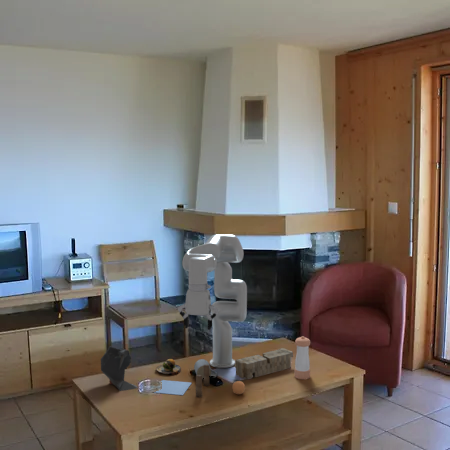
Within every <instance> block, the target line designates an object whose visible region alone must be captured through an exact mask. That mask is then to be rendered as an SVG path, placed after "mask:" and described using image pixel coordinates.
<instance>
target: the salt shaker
mask: <svg viewBox="0 0 450 450" xmlns="http://www.w3.org/2000/svg"><path fill="white" fill-rule="evenodd" d="M294 342H295V346H296V356H295V361H294V362H295V363H294V364H295V367H294V374H293V375H294V378H295V379H298V380H308V379H310V378H311V369H310V364H311V363H310V356H309V352H310V351H309V348H310V347H309V346H310V345H311V340H310V339H309V338H307V337H305V336H303V335H302V336H299V337H297V338H296V339H295V341H294Z"/></svg>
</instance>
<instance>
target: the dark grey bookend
mask: <svg viewBox="0 0 450 450" xmlns="http://www.w3.org/2000/svg"><path fill="white" fill-rule="evenodd" d="M131 357H132V356H131V354H130V351H129V350H128V349H121V348H116V347H112V346H108V348H107V350H106V351H105V353H104V354H103V356H101V358H100V371H101V372H102V373H103V374H104V375H105V377H107V379H109V381H108V382H109V385H114V386H115V387H116V389H118V391H119V392H124V391H129V390H134V389H138V386H137V385H135V384H132V383H130V382H128V381H126V380H125V372H126V371H125V370H126V369H127V368H128V367H129V366H130V364H131V363H132V360H131V359H132V358H131Z"/></svg>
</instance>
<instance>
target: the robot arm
mask: <svg viewBox="0 0 450 450" xmlns="http://www.w3.org/2000/svg"><path fill="white" fill-rule="evenodd" d="M244 254H245V253H244V248H243V245H242V244H241V241H240V239H239V238H238V237H237V236H236V235H234V234H222V233H221V234H219V233H218V234H213V235H210V237H209V238H208V239H207V241H206V242H204V244H200V245H197V246H195V247H191V248H189V249H188V250H187V251H186V252H185V254H184V256H183V259H182V263H181V264H182V268H183V269H184V271H186V272H188V289H187V291H186V296H185V303H183V304H182V305H180V306H178V307H177V310H178V311H177V312H178V313H179V315H180V316H181V317H182V319H183V326H184V328H185V329H188V328H189V326H190V322H189V321H190V318H189V316H190V315H191V316H202V317H203V316H205V317H206V318H207V319H208V320H207V331H208V330H209V331H210V330H211V329H212V358H211V359H210V360H209V365H210V367H212V368H213V367H214V368H218V369H226V368H232V367H233V366H235V360H236V359H233V328H232V326H231V323H230V322H238V323H239V322H240V323H242V322H244V321H245V320H246V319H247V315H248V314H247V311H248V309H247V308H248V306H247V305H248V286H247V283H246V282H245V280H242V279H236V278H235V279H233V268H232V266H231V265H230V263H233V264H234V263H235V264H237V263H241V262H242V261H243V259H244ZM212 272H214V287H213V289H214V291H213V292H214V296H215V297H216V298H219V299H229V301H228V300H217V301H214V302H213V303H212V299H211V293H210V290H209V289H211V287H212V286H211V284H208V273H212ZM231 299H232V300H236V301H230V300H231ZM183 309H184V311H183Z"/></svg>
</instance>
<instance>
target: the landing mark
mask: <svg viewBox="0 0 450 450" xmlns="http://www.w3.org/2000/svg"><path fill="white" fill-rule="evenodd" d="M160 382H162V389H161V390H159V391H156V392H154V393H153V394H163V395H165V394H166V395H175V396H184V394H185V393H186V392H187V391H188V389H189V387H190V386H191V385H192V382H188V381H177V380H165V379H162V380H161V381H160Z"/></svg>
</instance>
